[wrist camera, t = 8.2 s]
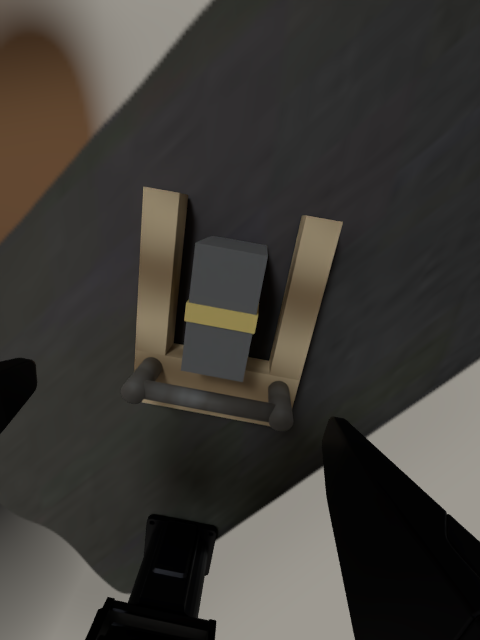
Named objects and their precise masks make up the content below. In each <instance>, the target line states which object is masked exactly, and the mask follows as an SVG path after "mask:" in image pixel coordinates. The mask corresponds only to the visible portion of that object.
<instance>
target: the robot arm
mask: <svg viewBox="0 0 480 640" xmlns="http://www.w3.org/2000/svg"><path fill="white" fill-rule="evenodd" d="M36 387H37V375H36V364H35V362H34V361H33V360H30V359H25V358H15V359H10V360H5V361H1V362H0V434H1V432H2V431H3V430H4V429H5V428H6V426H7V425H8V424H9V423H10V422H11V420H12V419H13V418H14V417H15V415H16V414H17V413H18V412H19V410H20V409H21V408H22V407H23V405H24V404H25V403H26V402H27V400H28V399H29V398H30V397H31V395H32V394H33V393H34V391H35V390H36ZM322 453H323V464H324V475H325V486H326V495H327V502H328V507H329V512H330V517H331V522H332V527H333V532H334V537H335V542H336V547H337V552H338V557H339V562H340V567H341V572H342V577H343V582H344V587H345V592H346V597H347V602H348V607H349V612H350V617H351V622H352V627H353V632H354V637H355V640H480V541H478V540H477V539H476V538H475V537H474V536H473V535H472V534H470V533H469V532H468V531H467V530H466V529H465V528H464V527H463V526H462V525H460V524H459V523H458V522H457V521H456V520H455V519H454V518H453V517H452V516H451V515H449V514H447V513H446V511H445V510H444V509H443V508H442V507H441V506H440V505H438V504H437V503H436V502H435V501H434V500H433V499H432V498H431V497H430V496H429V495H427V493H425V492H424V491H423V490H422V489H421V488H420V487H419V486H418V485H417V484H416V483H415V482H413V481H412V480H411V479H410V478H409V477H408V476H407V475H406V474H405V473H404V472H402V471H401V470H400V469H399V468H398V467H397V466H396V465H395V464H394V463H393V462H392V461H390V460H389V459H388V458H387V457H386V456H385V455H384V454H383V453H382V452H381V451H379V450H378V449H377V448H376V447H375V446H374V445H373V444H372V443H371V442H370V441H369V440H367V439H366V438H365V437H364V436H363V435H362V434H361V433H360V432H359V431H358V430H357V429H355V428H354V427H353V426H352V425H351V424H350V423H349V422H348V421H347V420H345V419H343V418H338V417H331V418H330V419H329V421H328V424H327V427H326V430H325V433H324V436H323V439H322ZM216 534H217V529H216V528H215V527H213V526H209V525H204V524H199V523H194V522H188V521H183V520H178V519H173V518H168V517H163V516H157V515H150V516H149V517H148V520H147V525H146V537H145V549H144V558H143V561H142V564H141V566H140V569H139V572H138V575H137V578H136V581H135V584H134V587H133V589H132V592H131V595H130V598H129V601H128V603H126V602H121V601H116V600H115V599H114V598H110V597H108V598H107V600H106V602H105V604H104V606H103V608H101V609H98V611H97V614H96V616H95V618H94V621H93V623H92V626H91V628H90V630H89V632H88V635H87V637H86V639H85V640H215V631H216V620H212V619H210V620H209V621H208V620H204V619H199V618H198V613H199V607H200V601H201V594H202V589H203V583H204V576H206V575H208V573H209V569H210V564H211V559H212V554H213V549H214V544H215V539H216Z"/></svg>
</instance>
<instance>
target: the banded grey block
mask: <svg viewBox="0 0 480 640" xmlns="http://www.w3.org/2000/svg"><path fill="white" fill-rule="evenodd" d="M267 259H268V251H267V245H262V244H257V243H251V242H246V241H240V240H235V239H229V238H224V237H218V236H213V235H212V236H210V237H208V238H205V239H203V240H201V241H198V242H196V243H195V251H194V260H193V268H192V277H191V286H190V295H189V300H188V301H187V302H186V309H185V318H184V321H186V330H185V338H184V347H183V356H182V364H181V371H186V372H191V373H197V374H202V375H207V376H212V377H218V378H223V379H228V380H234V381H239V382H243V379H244V374H245V369H246V364H247V359H248V354H249V349H250V344H251V339H252V334H255V329H256V324H257V319H258V309H259V299H260V294H261V289H262V284H263V279H264V274H265V269H266V264H267Z"/></svg>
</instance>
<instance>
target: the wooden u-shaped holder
mask: <svg viewBox="0 0 480 640" xmlns="http://www.w3.org/2000/svg"><path fill="white" fill-rule="evenodd" d="M187 203H188V195H186V194H181V193H176V192H171V191H165V190H160V189H154V188H148V187H143V207H142V227H141V247H140V267H139V287H138V307H137V327H136V347H135V367H134V373H133V374H132V375H131V376H130V378H129V379H128V380H127V381H126V382H125V384H124V385H123V386H122V388H121V396H122V398H123V399H124V400H125V401H127V402H128V403H131V404H138V403H140V402H144V403H149V404H154V405H160V406H165V407H170V408H176V409H181V410H186V411H192V412H197V413H202V414H208V415H213V416H218V417H224V418H229V419H234V420H240V421H245V422H250V423H255V424H261V425H266V426H271V428H272V429H274V430H276V431H281V432H282V431H287V430H289V429H290V428H291V427H292V426H293V423H294V420H293V413H292V407H293V403H294V400H295V396H296V392H297V389H298V385H299V381H300V378H301V374H302V370H303V367H304V363H305V359H306V356H307V352H308V348H309V345H310V341H311V337H312V334H313V330H314V326H315V323H316V319H317V315H318V312H319V308H320V304H321V301H322V297H323V293H324V290H325V286H326V282H327V279H328V275H329V271H330V268H331V264H332V260H333V257H334V253H335V249H336V246H337V242H338V238H339V235H340V231H341V227H342V224H343V222H339V221H334V220H328V219H323V218H317V217H311V216H304V215H302V217H301V222H300V226H299V231H298V235H297V240H296V244H295V248H294V253H293V257H292V262H291V266H290V271H289V275H288V279H287V284H286V288H285V293H284V297H283V302H282V306H281V310H280V315H279V319H278V324H277V328H276V333H275V337H274V341H273V346H272V350H271V355H270V359H269V361H268V360H262V359H257V358H251V357H248V359H247V364H246V369H245V374H244V379H243V382H239V381H234V380H228V379H223V378H218V377H212V376H207V375H202V374H197V373H191V372H186V371H181V364H182V356H183V347H184V345H181V344H176V343H174V334H175V324H176V314H177V304H178V294H179V284H180V274H181V263H182V253H183V243H184V233H185V223H186V213H187Z"/></svg>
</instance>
